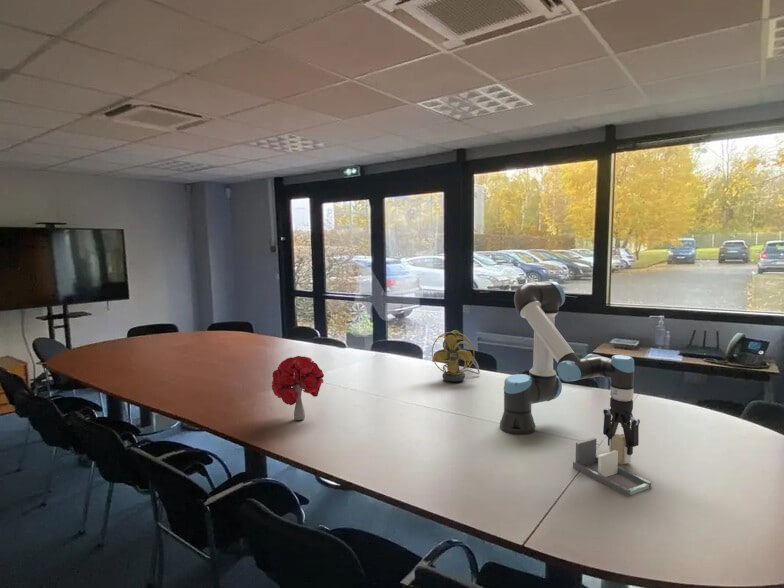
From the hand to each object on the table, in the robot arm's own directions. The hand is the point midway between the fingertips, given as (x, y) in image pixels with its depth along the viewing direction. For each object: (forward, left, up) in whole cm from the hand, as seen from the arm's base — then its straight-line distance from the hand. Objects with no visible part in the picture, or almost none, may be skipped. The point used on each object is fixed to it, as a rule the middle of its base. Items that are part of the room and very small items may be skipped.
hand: (619, 458), depth 167 cm
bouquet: (-100, -96, -1) cm, 139 cm away
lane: (+7, -13, -1) cm, 15 cm away
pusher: (+7, -13, -1) cm, 15 cm away
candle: (0, 0, -1) cm, 1 cm away
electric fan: (-123, +10, -1) cm, 123 cm away
